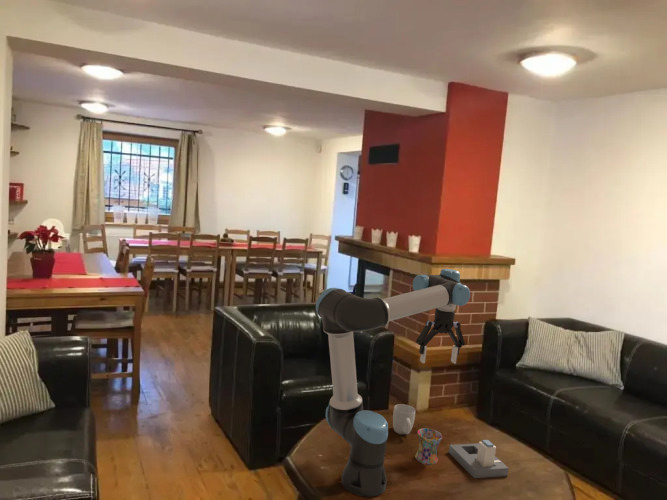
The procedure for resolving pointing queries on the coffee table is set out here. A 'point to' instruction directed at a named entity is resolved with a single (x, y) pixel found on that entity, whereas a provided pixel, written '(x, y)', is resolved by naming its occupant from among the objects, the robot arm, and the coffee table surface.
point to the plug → (486, 453)
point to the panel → (467, 459)
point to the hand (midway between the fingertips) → (437, 362)
